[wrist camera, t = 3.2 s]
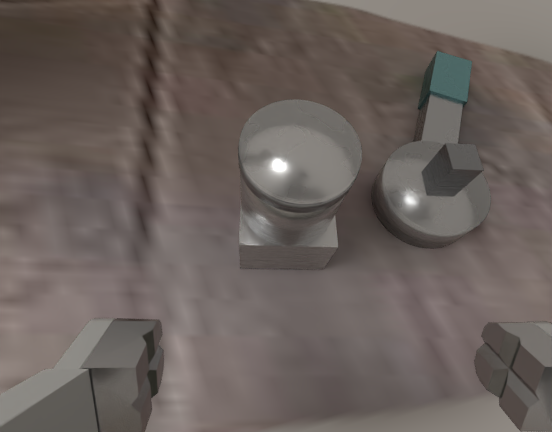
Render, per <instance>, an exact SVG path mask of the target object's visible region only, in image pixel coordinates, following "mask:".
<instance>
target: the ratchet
mask: <svg viewBox="0 0 552 432" xmlns="http://www.w3.org/2000/svg"><path fill="white" fill-rule="evenodd" d="M471 65H472V61H469V60H466V59H462V58H459V57H456V56H452V55H449V54H446V53H442V52H439V51H437V52H436V54H435V56H434V57H433V59H432V61H431V62H430V64H429V66H428V68H427V69H426V72H425V77H424V82H423V86H422V91H421V96H420V100H419V105H418V109H420V112H419V117H418V122H417V127H416V131H415V136H414V141H413V142H411V143H408V144H405V145H403V146H401V147H400V148H398V149H397V150H395V151H394V152H393V153H392V155H391V156H390V157H389V159H388V160H387V162H386V163H385V165H384V167H383V168H382V170H381V171H380V173H379V174H378V176H377V177H376V179H375V181H374V184H373V187H372V204H373V207H374V210H375V212H376V215H377V216H378V218H379V220H380V221H381V223H382V224H383V225H384V226H385V227H386V228H387V230H388V231H390V232H391V233H392V234H393V235H394V236H396V237H397V238H399V239H400V240H402V241H404V242H406V243H408V244H411V245H414V246H417V247H422V248H439V247H444V246H447V245H449V244H451V243H453V242H454V241H456V240H457V239H459V238H460V237H462V236H463V235H465V234H466V233H468V232H469V231H471V230H472V229H474V228H475V227H477V226H478V225H479V224H481V223H482V222H483V220H484V219H485V218H486V216H487V214H488V212H489V209H490V204H491V195H490V189H489V186H488V183H487V181H486V179H485V177H484V175H483V174H482V171H484V169H483V166H482V164H481V161H480V158H479V155H478V152H477V149H476V146H475V144H458V139H459V131H460V123H461V115H462V108H463V107H464V105H465V104H466V103H467V98H468V90H469V82H470V74H471Z"/></svg>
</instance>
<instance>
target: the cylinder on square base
mask: <svg viewBox="0 0 552 432" xmlns="http://www.w3.org/2000/svg"><path fill="white" fill-rule="evenodd" d="M238 159H239V169H240V189H241V208H240V232H239V256H240V268H249V269H311V270H323V268H324V267H325V266H326V264H327V263H328V261H329V260H330V258H331V257H332V255H333V254H334V253H335V251H336V250H337V248H338V240H337V229H336V219H335V214H336V212H337V210H338V208H339V206H340V205H341V203H342V201H343V199H344V197H345V195H346V194H347V193H348V191H349V190H350V188H351V187H352V185H353V183H354V181H355V179H356V177H357V175H358V173H359V169H360V165H361V161H362V148H361V143H360V140H359V138H358V135H357V133H356V132H355V130H354V128H353V127H352V126H351V124H350V123H349V122H348V121H347V120H346V119H345V118H344V117H343V116H341V115H340V114H339V113H337V112H336V111H334V110H332V109H331V108H329V107H327V106H324V105H322V104H319V103H316V102H312V101H307V100H283V101H278V102H275V103H272V104H269V105H267V106H265V107H263V108H261V109H259V110H258V111H257V112H255V113H254V114H253V115H252V116H251V117H250V118H249V119H248V121H247V122H246V123H245V125H244V127H243V129H242V132H241V135H240V140H239V146H238Z"/></svg>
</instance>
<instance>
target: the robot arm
mask: <svg viewBox="0 0 552 432" xmlns="http://www.w3.org/2000/svg"><path fill="white" fill-rule="evenodd" d="M162 335H163V334H162V324H161V322H160V320H157V319H123V318H117V319H115V318H94V319H92V320H90V321H89V322H88V323H87V324H86V326H85V327H84V328H83V330H82V331H81V332H80V334H79V335H78V336H77V338H76V339H75V340H74V341H73V343H72V344H71V345H70V347H69V348H68V349H67V351H66V352H65V353H64V355H63V356H62V357H61V359H60V360H59V361H58V363H57V364H56V365H55V366H54V368H53V369H44V370H43V371H41V372H39V373H37V374H35V375H34V376H32V377H30V378H28V379H27V380H25V381H23V382H21V383H20V384H18V385H16V386H14V387H13V388H11V389H9V390H7V391H5V392H4V393H2V394H0V432H145V430H146V427H147V424H148V421H149V418H150V415H151V412H152V401H151V398H152V397H153V396H155V395H156V394H157V393H158V391H159V387H160V384H161V380H162V375H163V369H164V350H163V349H162V348H161V347H160V346H159V342H160V340H161V337H162ZM481 336H482V338H483V340H484V344H483V345H482V346H481V347H480V348H479V349H478V350H477V352H476V356H475V360H474V363H475V369H476V374H477V376H478V378H479V380H480V382H481V383H482V384H483V386H484V387H485V388H486V390H488V391H489V392H491V393H492V394H494V395H496V396H497V397H499V405H500V407H501V408H502V409H503V411H504V412H505V413H506V414H507V415H508V417H509V418H510V419H511V421H512V422H513V423H514V424H515V425H516V427H517V428H518V429H519V430H520V431H538V432H541V431H542V432H545V431H546V432H552V323H550V322H547V321H542V322H489V323H488V324H487V325H486V326H485V327H484V329H483V332H482V335H481Z"/></svg>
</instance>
